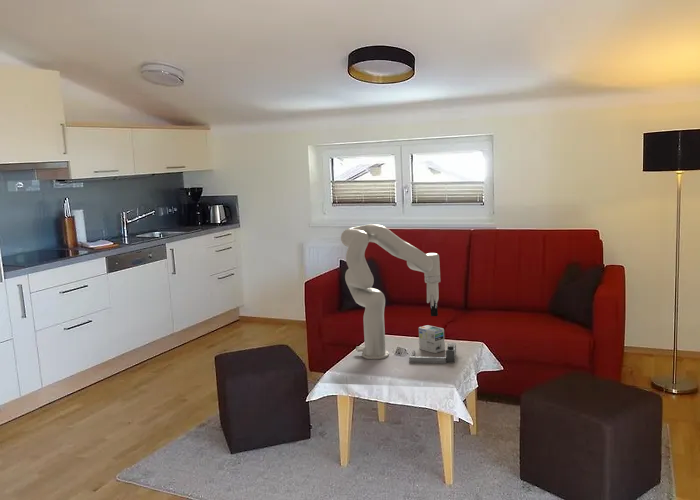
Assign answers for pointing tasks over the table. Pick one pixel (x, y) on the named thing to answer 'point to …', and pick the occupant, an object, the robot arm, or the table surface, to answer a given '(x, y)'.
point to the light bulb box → (431, 339)
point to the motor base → (448, 357)
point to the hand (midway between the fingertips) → (434, 315)
